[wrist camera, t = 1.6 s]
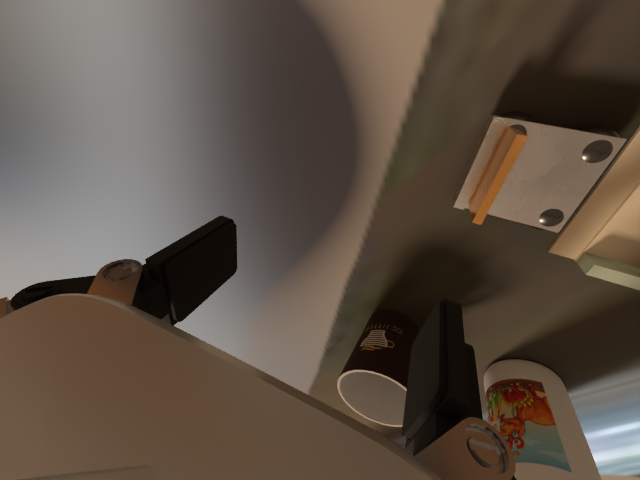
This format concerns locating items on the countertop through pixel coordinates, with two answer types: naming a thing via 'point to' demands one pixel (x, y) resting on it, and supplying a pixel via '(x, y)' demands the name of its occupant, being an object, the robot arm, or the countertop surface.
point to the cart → (533, 170)
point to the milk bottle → (537, 422)
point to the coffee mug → (380, 369)
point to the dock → (609, 223)
